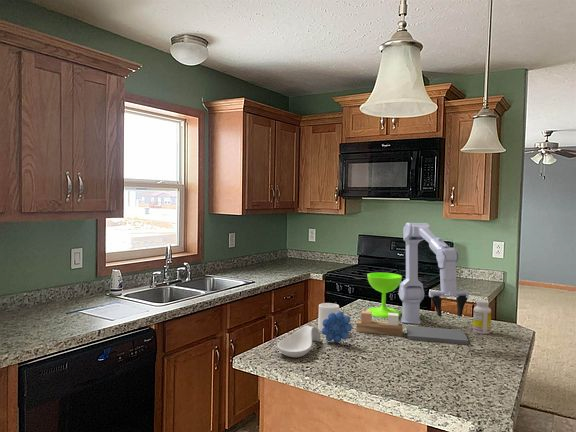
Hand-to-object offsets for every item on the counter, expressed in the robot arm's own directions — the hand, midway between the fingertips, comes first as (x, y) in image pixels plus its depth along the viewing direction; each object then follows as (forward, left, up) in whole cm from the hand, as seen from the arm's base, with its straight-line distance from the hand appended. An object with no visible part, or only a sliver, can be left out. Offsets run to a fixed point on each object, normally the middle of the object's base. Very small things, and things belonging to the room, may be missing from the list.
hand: (449, 316), depth 172 cm
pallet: (-7, -26, -11) cm, 29 cm away
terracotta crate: (-7, -31, -7) cm, 33 cm away
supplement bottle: (-19, +15, -11) cm, 27 cm away
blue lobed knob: (+11, -41, -11) cm, 44 cm away
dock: (-7, -4, -10) cm, 13 cm away
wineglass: (-38, -25, -11) cm, 47 cm away
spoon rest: (+22, -52, -11) cm, 58 cm away
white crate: (-7, -21, -7) cm, 23 cm away
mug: (-5, -46, -11) cm, 47 cm away
